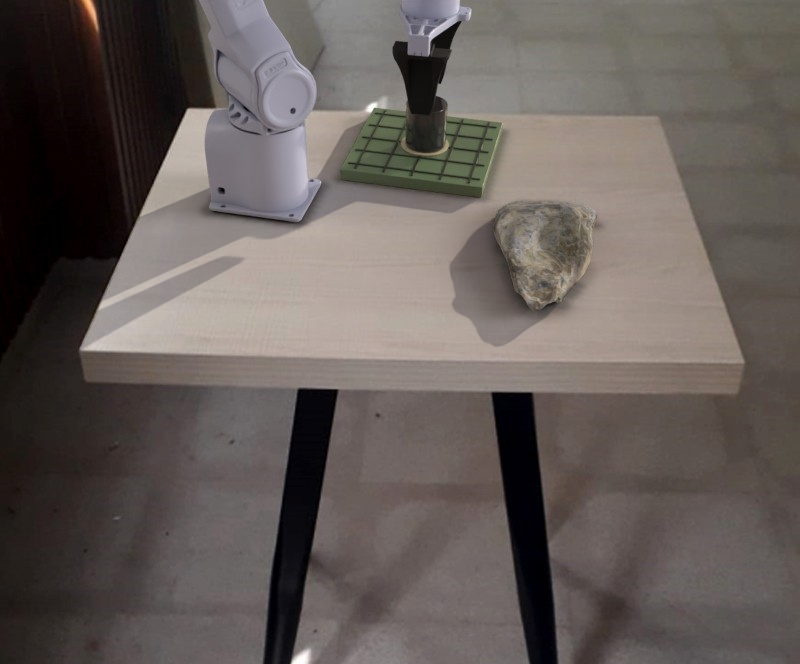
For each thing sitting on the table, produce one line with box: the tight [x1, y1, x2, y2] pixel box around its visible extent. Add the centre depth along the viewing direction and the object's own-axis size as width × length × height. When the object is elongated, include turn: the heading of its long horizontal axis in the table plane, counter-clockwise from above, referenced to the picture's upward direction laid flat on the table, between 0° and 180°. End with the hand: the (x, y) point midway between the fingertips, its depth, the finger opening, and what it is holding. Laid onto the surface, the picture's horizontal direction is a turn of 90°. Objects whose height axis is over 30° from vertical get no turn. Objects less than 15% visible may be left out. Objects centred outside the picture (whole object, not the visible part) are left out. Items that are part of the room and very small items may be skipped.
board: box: [339, 107, 504, 198], centre depth 104 cm, size 15×15×1 cm
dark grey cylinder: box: [405, 95, 449, 153], centre depth 102 cm, size 4×4×5 cm
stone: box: [492, 199, 598, 311], centre depth 89 cm, size 20×4×10 cm
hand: (426, 97), depth 100 cm, fingers open, 7 cm apart
